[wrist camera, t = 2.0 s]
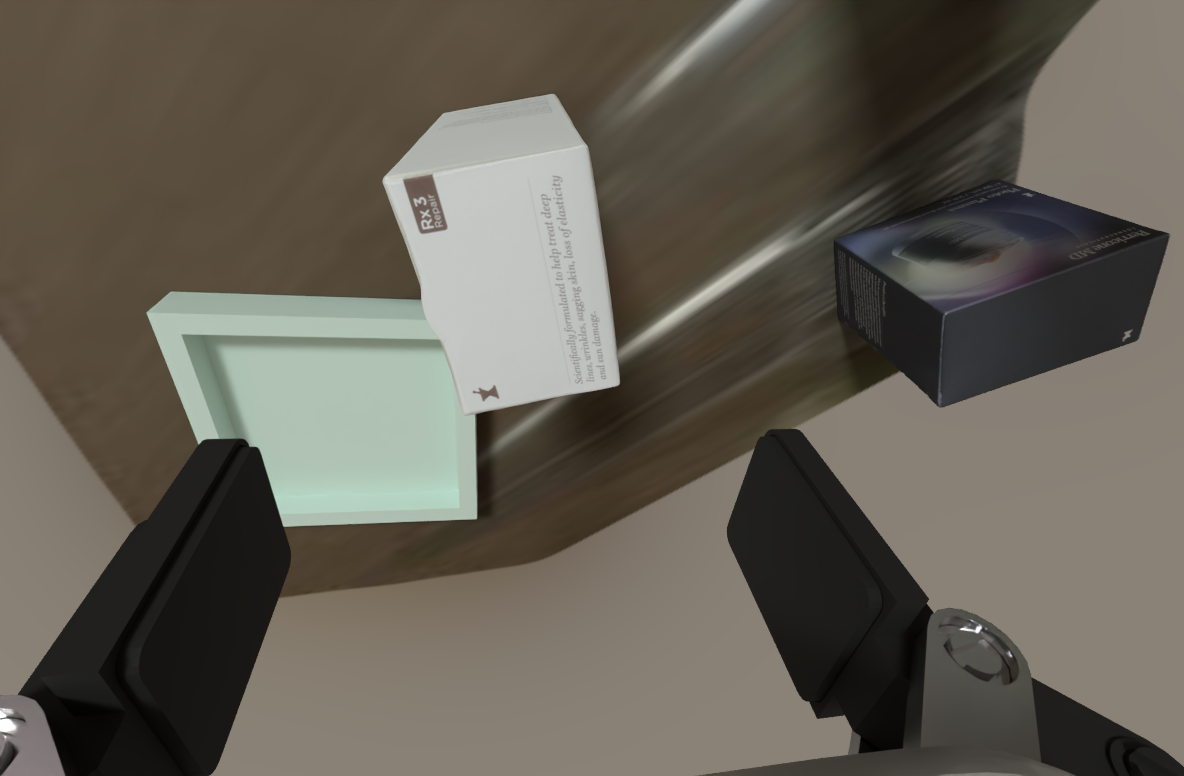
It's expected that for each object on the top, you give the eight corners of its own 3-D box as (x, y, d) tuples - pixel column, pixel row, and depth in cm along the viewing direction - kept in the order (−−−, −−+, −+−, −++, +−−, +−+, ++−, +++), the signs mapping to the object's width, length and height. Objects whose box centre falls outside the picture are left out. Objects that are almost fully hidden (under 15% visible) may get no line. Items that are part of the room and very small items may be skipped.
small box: (1001, 169, 32) (1184, 226, 24) (989, 265, 36) (1143, 344, 27) (830, 234, 33) (947, 312, 24) (836, 321, 37) (940, 415, 28)
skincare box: (579, 246, 31) (633, 396, 19) (475, 266, 31) (463, 430, 19) (552, 81, 26) (603, 141, 14) (429, 103, 26) (372, 184, 14)
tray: (474, 301, 32) (473, 321, 30) (477, 493, 41) (477, 518, 39) (170, 291, 29) (146, 312, 27) (246, 500, 38) (232, 528, 36)
